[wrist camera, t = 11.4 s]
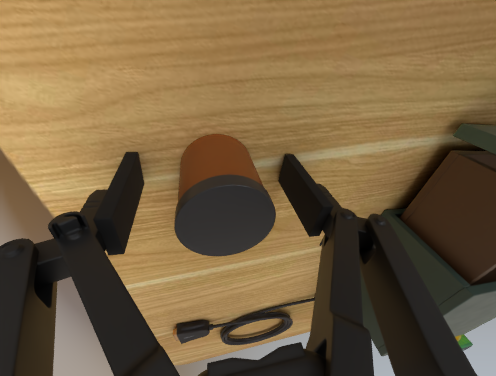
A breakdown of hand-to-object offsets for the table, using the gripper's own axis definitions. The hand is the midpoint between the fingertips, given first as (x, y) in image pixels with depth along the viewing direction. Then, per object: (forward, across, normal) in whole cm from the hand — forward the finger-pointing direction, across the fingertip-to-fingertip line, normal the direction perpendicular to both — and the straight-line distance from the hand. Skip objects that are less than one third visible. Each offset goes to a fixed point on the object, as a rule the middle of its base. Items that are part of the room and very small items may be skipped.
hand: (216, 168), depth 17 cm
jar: (0, 0, 0) cm, 0 cm away
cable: (0, +9, -33) cm, 35 cm away
